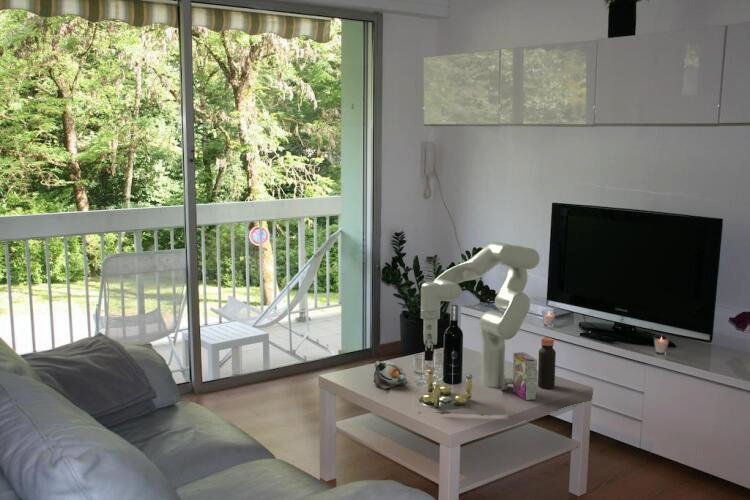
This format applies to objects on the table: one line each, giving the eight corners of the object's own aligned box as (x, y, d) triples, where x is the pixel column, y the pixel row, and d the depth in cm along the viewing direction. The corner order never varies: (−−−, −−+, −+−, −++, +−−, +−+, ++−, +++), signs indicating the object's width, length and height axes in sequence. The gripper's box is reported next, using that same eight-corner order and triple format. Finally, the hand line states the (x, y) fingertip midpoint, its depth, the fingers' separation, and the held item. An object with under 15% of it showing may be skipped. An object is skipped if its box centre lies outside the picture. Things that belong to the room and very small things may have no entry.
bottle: (557, 386, 321) (559, 339, 318) (548, 390, 316) (549, 342, 314) (543, 382, 326) (545, 336, 323) (534, 386, 321) (535, 339, 318)
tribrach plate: (470, 396, 309) (471, 389, 308) (471, 414, 289) (471, 406, 289) (420, 395, 311) (420, 388, 310) (417, 412, 291) (417, 405, 291)
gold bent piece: (463, 406, 292) (463, 381, 291) (452, 403, 295) (453, 379, 294) (475, 399, 300) (475, 375, 299) (465, 397, 303) (465, 373, 301)
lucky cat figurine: (412, 383, 326) (414, 359, 317) (397, 401, 318) (399, 377, 309) (381, 368, 332) (383, 345, 323) (366, 386, 324) (367, 362, 315)
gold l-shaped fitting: (421, 401, 298) (421, 377, 297) (431, 399, 300) (431, 375, 298) (432, 409, 289) (432, 384, 288) (443, 407, 291) (443, 382, 290)
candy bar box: (512, 392, 314) (512, 352, 312) (523, 391, 315) (524, 351, 313) (525, 401, 303) (526, 360, 301) (536, 399, 305) (537, 359, 302)
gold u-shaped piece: (451, 392, 308) (451, 369, 307) (450, 396, 304) (451, 372, 303) (427, 391, 309) (427, 368, 308) (426, 395, 305) (426, 371, 304)
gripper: (439, 319, 294) (438, 363, 296) (440, 310, 311) (439, 351, 313) (419, 318, 294) (418, 362, 297) (421, 309, 311) (420, 351, 314)
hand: (429, 357), depth 305 cm, fingers open, 9 cm apart
